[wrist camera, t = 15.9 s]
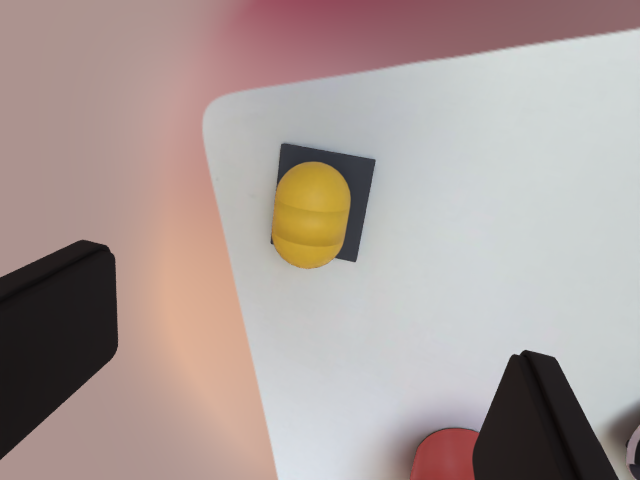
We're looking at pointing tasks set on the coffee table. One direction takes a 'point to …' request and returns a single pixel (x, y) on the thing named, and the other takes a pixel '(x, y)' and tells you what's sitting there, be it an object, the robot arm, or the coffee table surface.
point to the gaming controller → (634, 454)
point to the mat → (357, 180)
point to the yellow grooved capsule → (310, 214)
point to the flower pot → (445, 456)
